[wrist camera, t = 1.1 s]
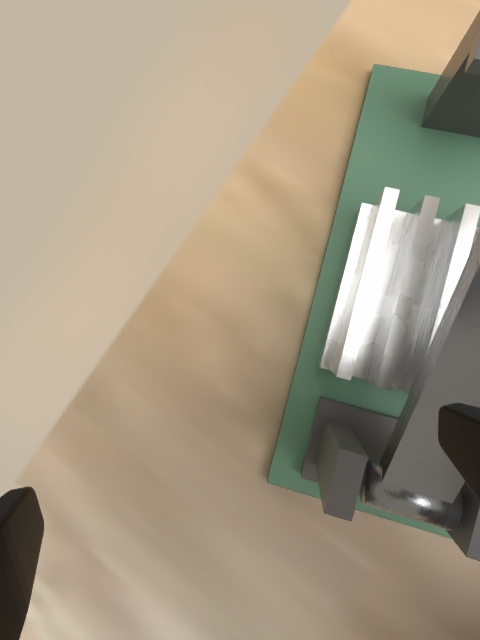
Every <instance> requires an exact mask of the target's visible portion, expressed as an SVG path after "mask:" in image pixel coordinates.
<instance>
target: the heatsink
mask: <svg viewBox="0 0 480 640" xmlns="http://www.w3.org/2000/svg"><path fill="white" fill-rule="evenodd" d="M399 192H400V190H398V189H394V188H389V187H385V188H384V189H383V191H382V192H381V194H380V195H379V197H378V198H377V200H376V201H375V203H374V204H373V205H370V204H365V203H362V204H361V206H360V207H359V209H358V211H357V214H356V217H355V221H354V225H353V229H352V233H351V237H350V241H349V245H348V249H347V253H346V256H345V260H344V264H343V268H342V272H341V276H340V280H339V284H338V288H337V292H336V295H335V299H334V303H333V307H332V311H331V315H330V319H329V323H328V327H327V331H326V334H325V338H324V342H323V346H322V350H321V354H320V358H319V362H318V366H319V367H320V368H323V369H327V370H330V371H331V372H332V373H333V374H334V375H335V376H336V377H339V378H343V379H347V380H350V381H351V378H352V376H353V377H357V378H361V379H364V380H366V381H367V382H369V383H370V384H372V385H373V386H375V387H377V388H380V389H384V390H388V391H391V387H395V388H399V389H401V390H402V391H404V392H406V393H408V394H409V393H410V391H411V388H412V386H413V384H414V381H415V379H416V377H417V374H418V372H419V370H420V368H421V365H422V363H423V361H424V358H425V356H426V354H427V351H428V349H429V347H430V344H431V342H432V340H433V337H434V335H435V333H436V331H437V328H438V326H439V324H440V321H441V319H442V317H443V314H444V312H445V310H446V307H447V305H448V303H449V300H450V298H451V296H452V293H453V291H454V289H455V287H456V284H457V282H458V280H459V277H460V275H461V273H462V270H463V268H464V266H465V263H466V261H467V259H468V256H469V254H470V252H471V249H472V247H473V245H474V243H475V240H476V238H477V236H478V233H479V231H480V227H476V226H477V222H478V218H479V215H480V206H477V205H472V204H467V203H466V204H464V205H463V206H462V207H460V208H459V209H457V210H456V211H454V212H453V213H452V214H450V215H449V216H447V217H446V218H445V219H443V220H441V219H436V218H435V217H436V213H437V209H438V205H439V201H440V198H437V197H433V196H428V195H425V196H424V197H423V198H422V199H420V200H419V201H418V202H417V203H416V204H415V205H414V206H413V207H412V208H411V209H410V210H409V211H408V212H403V211H398V210H395V207H396V204H397V200H398V196H399Z"/></svg>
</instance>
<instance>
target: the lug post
mask: <svg viewBox="0 0 480 640" xmlns="http://www.w3.org/2000/svg"><path fill="white" fill-rule="evenodd" d="M421 127H424V128H429V129H435V130H440V131H446V132H451V133H457V134H462V135H467V136H473V137H478V138H480V11H479V13H478V14H477V16H476V18H475V19H474V21H473V23H472V24H471V26H470V28H469V29H468V31H467V33H466V34H465V36H464V38H463V40H462V41H461V43H460V45H459V46H458V48H457V50H456V51H455V53H454V55H453V56H452V58H451V60H450V61H449V63H448V65H447V66H446V68H445V70H444V71H443V73H442V75H441V76H440V78H439V80H438V81H437V83H436V85H435V86H434V88H433V90H432V91H431V93H430V95H429V97H428V101H427V105H426V109H425V113H424V117H423V121H422V125H421Z"/></svg>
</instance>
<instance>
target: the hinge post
mask: <svg viewBox="0 0 480 640" xmlns="http://www.w3.org/2000/svg"><path fill="white" fill-rule="evenodd" d="M398 418H399V417H395V416H391V415H388V414H384V413H380V412H377V411H373V410H369V409H366V408H362V407H358V406H355V405H351V404H347V403H344V402H340V401H336V400H333V399H329V398H325V397H322V396H320V398H319V402H318V406H317V410H316V414H315V418H314V422H313V426H312V429H311V433H310V437H309V441H308V445H307V449H306V453H305V457H304V461H303V465H302V468H301V478H303V479H306V480H310V481H313V482H316V483H318V484H319V489H320V495H321V500H322V505H323V511H324V513H325V514H329V515H332V516H335V517H338V518H342V519H345V520H348V521H352V518H353V514H354V510H355V506H356V502H357V498H358V495H360V487H361V483H362V479H363V475H364V471H365V467H366V463H367V462H368V461H373V462H376V463H379V462H380V460H381V458H382V455H383V453H384V451H385V449H386V446H387V444H388V442H389V439H390V437H391V435H392V432H393V430H394V428H395V425H396V423H397V421H398ZM460 491H461V495H462V501H463V508H462V515H461V519H460V522H459V524H458V526H457V527H456V528H455V529H454V530H453V531H450V530H446V529H445V530H446V531H447V532H448V534H449V535H450V536H451V537H452V539H453V540H454V541H455V543H456V544H457V545H458V546H459V548H460V549H461V550H462V552H463V553H464V554H465V556H466V557H468V558H472V559H475V560H478V561H480V501H479V499H478V498H477V497H476V495H475V494H474V493H473V491H472V490H471V488H470V487H469V486H468V484H467V483H466V481H465V482H464V484H463V486H462V488H461V489H460Z"/></svg>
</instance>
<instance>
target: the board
mask: <svg viewBox="0 0 480 640" xmlns="http://www.w3.org/2000/svg"><path fill="white" fill-rule="evenodd" d="M440 76H441V75H437V74H431V73H425V72H419V71H413V70H407V69H401V68H395V67H389V66H383V65H378V64H374V66H373V69H372V72H371V76H370V80H369V84H368V88H367V92H366V96H365V100H364V104H363V108H362V112H361V115H360V119H359V123H358V127H357V131H356V135H355V139H354V143H353V147H352V151H351V155H350V158H349V162H348V166H347V170H346V174H345V178H344V182H343V186H342V190H341V194H340V198H339V201H338V205H337V209H336V213H335V217H334V221H333V225H332V229H331V233H330V237H329V241H328V244H327V248H326V252H325V256H324V260H323V264H322V268H321V272H320V276H319V280H318V284H317V287H316V291H315V295H314V299H313V303H312V307H311V311H310V315H309V319H308V323H307V327H306V330H305V334H304V338H303V342H302V346H301V350H300V354H299V358H298V362H297V366H296V369H295V373H294V377H293V381H292V385H291V389H290V393H289V397H288V401H287V405H286V409H285V412H284V416H283V420H282V424H281V428H280V432H279V436H278V440H277V444H276V448H275V452H274V455H273V459H272V463H271V467H270V471H269V475H268V479H267V483H270V484H274V485H277V486H280V487H284V488H287V489H290V490H293V491H297V492H300V493H303V494H307V495H310V496H313V497H316V498H320V499H321V495H320V489H319V484H318V483H316V482H313V481H310V480H306V479H303V478H301V468H302V465H303V461H304V457H305V453H306V449H307V445H308V441H309V437H310V433H311V429H312V426H313V422H314V418H315V414H316V410H317V406H318V402H319V398H320V396H322V397H325V398H329V399H333V400H336V401H340V402H344V403H347V404H351V405H355V406H358V407H362V408H366V409H369V410H373V411H377V412H380V413H384V414H388V415H391V416H395V417H399V416H400V414H401V412H402V409H403V407H404V405H405V402H406V400H407V398H408V395H409V394H408V393H406V392H404V391H402V390H401V389H399V388H395V387H391V391H388V390H384V389H380V388H377V387H375V386H373V385H372V384H370V383H369V382H367V381H366V380H364V379H361V378H357V377H353V376H352V378H351V381H350V380H347V379H343V378H339V377H336V376H335V375H334V374H333V373H332V372H331V371H330V370H327V369H323V368H320V367H319V366H318V362H319V358H320V354H321V350H322V346H323V342H324V338H325V334H326V331H327V327H328V323H329V319H330V315H331V311H332V307H333V303H334V299H335V295H336V292H337V288H338V284H339V280H340V276H341V272H342V268H343V264H344V260H345V256H346V253H347V249H348V245H349V241H350V237H351V233H352V229H353V225H354V221H355V217H356V214H357V211H358V209H359V207H360V206H361V204H362V203H365V204H370V205H373V204H374V203H375V201H376V200H377V198H378V197H379V195H380V194H381V192H382V191H383V189H384V188H385V187H389V188H394V189H398V190H400V192H399V196H398V200H397V204H396V207H395V210H398V211H403V212H408V211H409V210H410V209H411V208H412V207H413V206H414V205H415V204H416V203H417V202H418V201H419V200H420V199H422V198H423V197H424V196H425V195H428V196H433V197H437V198H440V201H439V205H438V209H437V213H436V217H435V218H436V219H441V220H443V219H445V218H446V217H447V216H449V215H450V214H452V213H453V212H454V211H456V210H457V209H459V208H460V207H462V206H463V205H464V204H466V203H467V204H472V205H477V206H480V138H478V137H473V136H467V135H462V134H457V133H451V132H446V131H440V130H435V129H429V128H424V127H421V125H422V121H423V117H424V113H425V109H426V105H427V101H428V97H429V95H430V93H431V91H432V90H433V88H434V86H435V85H436V83H437V81H438V80H439V78H440ZM476 227H480V215H479V218H478V222H477V226H476ZM355 509H356V510H359V511H363V512H366V513H369V514H372V515H376V516H379V517H382V518H386V519H389V520H392V521H396V522H399V523H402V524H405V525H409V526H412V527H415V528H419V529H422V530H425V531H428V532H432V533H435V534H438V535H442V536H445V537H448V538H452V537H451V536H450V535H449V534H448V532H447V531H446V530H445V529H443V528H440V527H436V526H433V525H430V524H426V523H423V522H420V521H416V520H413V519H410V518H407V517H403V516H400V515H397V514H393V513H390V512H387V511H383V510H380V509H377V508H373V507H370V506H367V505H363V504H361V502H360V495H358V498H357V502H356V506H355Z"/></svg>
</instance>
